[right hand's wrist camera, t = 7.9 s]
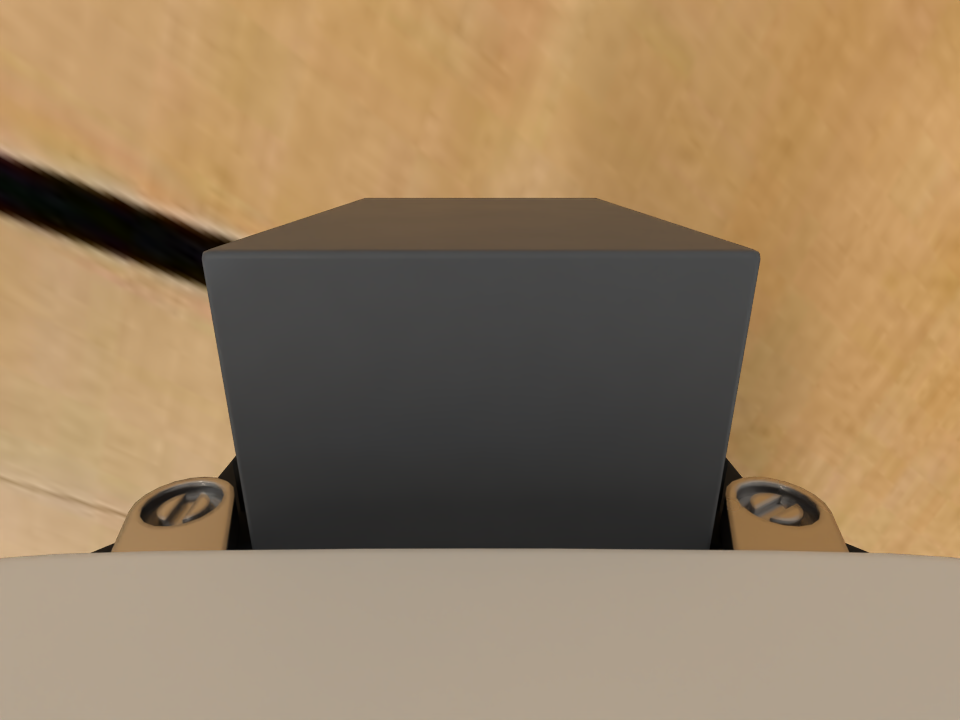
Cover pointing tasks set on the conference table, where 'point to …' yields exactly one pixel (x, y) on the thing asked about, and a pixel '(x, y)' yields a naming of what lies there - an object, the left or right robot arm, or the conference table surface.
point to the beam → (481, 374)
